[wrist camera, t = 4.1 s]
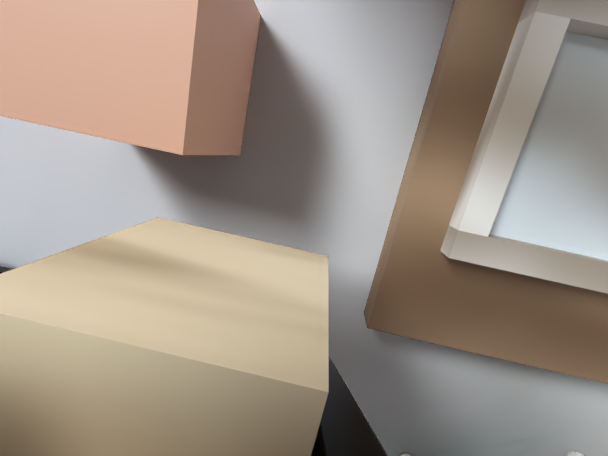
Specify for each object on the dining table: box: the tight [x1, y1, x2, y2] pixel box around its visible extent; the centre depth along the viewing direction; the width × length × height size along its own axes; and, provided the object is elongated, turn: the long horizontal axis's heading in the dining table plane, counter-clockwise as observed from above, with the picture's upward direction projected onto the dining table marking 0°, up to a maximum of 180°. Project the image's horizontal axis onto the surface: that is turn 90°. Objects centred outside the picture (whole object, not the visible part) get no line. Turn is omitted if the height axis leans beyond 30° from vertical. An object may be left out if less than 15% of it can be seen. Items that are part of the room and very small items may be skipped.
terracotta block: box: [0, 0, 261, 155], centre depth 9 cm, size 5×5×5 cm
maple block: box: [0, 217, 329, 456], centre depth 7 cm, size 5×5×5 cm
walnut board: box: [364, 0, 608, 384], centre depth 10 cm, size 16×12×2 cm
